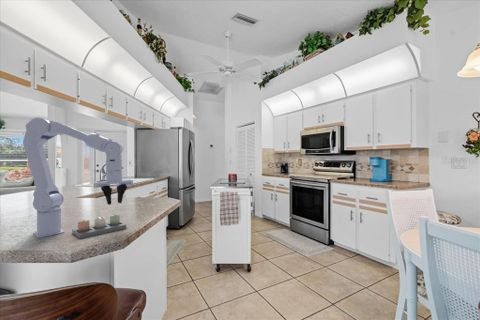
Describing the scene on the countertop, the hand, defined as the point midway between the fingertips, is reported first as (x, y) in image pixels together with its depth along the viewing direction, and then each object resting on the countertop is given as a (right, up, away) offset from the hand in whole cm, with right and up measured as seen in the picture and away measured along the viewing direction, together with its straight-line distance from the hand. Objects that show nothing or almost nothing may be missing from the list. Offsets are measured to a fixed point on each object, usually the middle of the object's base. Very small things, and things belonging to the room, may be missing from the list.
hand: (114, 203), depth 95 cm
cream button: (-3, -8, -4) cm, 10 cm away
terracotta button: (-7, -9, -8) cm, 14 cm away
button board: (-3, -10, -4) cm, 11 cm away
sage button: (0, -8, 0) cm, 8 cm away
